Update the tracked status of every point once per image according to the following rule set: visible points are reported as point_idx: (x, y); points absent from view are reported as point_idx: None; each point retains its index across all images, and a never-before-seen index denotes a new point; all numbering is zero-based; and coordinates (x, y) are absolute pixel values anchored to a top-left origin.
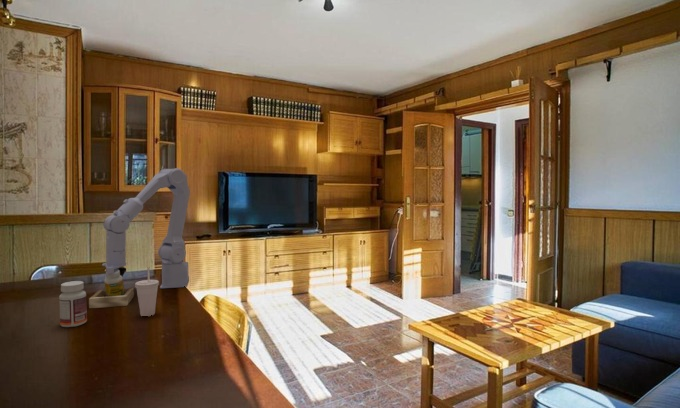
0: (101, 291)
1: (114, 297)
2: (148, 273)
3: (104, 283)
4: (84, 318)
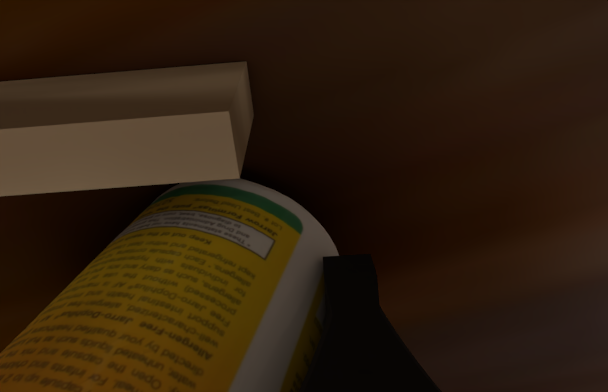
0: (120, 185)
1: None
2: None
3: (18, 362)
4: None
